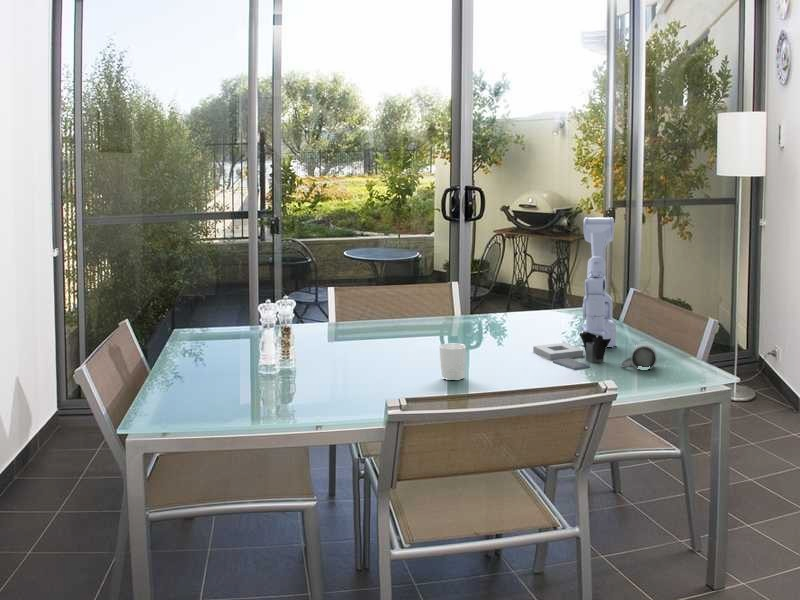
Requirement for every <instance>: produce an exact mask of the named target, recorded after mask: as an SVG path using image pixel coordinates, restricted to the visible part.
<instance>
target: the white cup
mask: <svg viewBox="0 0 800 600" xmlns="http://www.w3.org/2000/svg"><path fill="white" fill-rule="evenodd" d="M466 349H467V346H466V345H465V344H464V343H460V342H459V343H457V342H450V343H449V342H448V343H443V344H440V345H439V357H440V358H439V360H440V370H441V378H442V377H444V378H447V379H454V380H456V379H462V378H464V379H465V373H466V372H465V371H466V356H467V355H466V353H467V350H466Z"/></svg>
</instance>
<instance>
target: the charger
mask: <svg viewBox="0 0 800 600" xmlns="http://www.w3.org/2000/svg"><path fill="white" fill-rule="evenodd" d="M585 361H586V362H589V363H590V364H599V362H600V363H604V358H603V359H599V360H597V359H596V352H595V345H594V342H586V352H585Z"/></svg>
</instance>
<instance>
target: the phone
mask: <svg viewBox="0 0 800 600" xmlns="http://www.w3.org/2000/svg"><path fill="white" fill-rule="evenodd" d="M552 363H554V364H556V365H559V366H561V367H565V368H568V369H570V370H574V371H576V370H582V369H588V368H590V364H586V363H583V362H581V361H578V360H575V359H574V358H564V359H555V360H552Z"/></svg>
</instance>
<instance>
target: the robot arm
mask: <svg viewBox="0 0 800 600" xmlns="http://www.w3.org/2000/svg"><path fill="white" fill-rule="evenodd" d="M582 225H583V231H582V232H583V237H584V241H585V242H587V243H589V244H590V245H591V246H590V247H591V257H590V258H588V260H587V266H586V267H587V268H586V270H587V271H586V279H585V280H584V294H585V295H584V297H583V299H582V300H583V301H582V319H583V320H585V323H584V324H580V331H581V332H579V337H580V339H581V341H582V343H580V345H581V346H583V347H584V351H585V353H586V342H594V345H595V352H596V359H597V360H599V359H603V360H604V357H605V354H606V351H607V350H606V349H608V348H607V347H612V346H617V347H618V345H617V327H616V324H615V321H614V320H612V319H613V312H614V311H613V309H614V308H613V306H614V305H613V304H614V303H613V298H612V296H611V295H609V293H607V277H606V274H607V273H606V271H607V270H606V268H607V261H606V247H607V245H608V244H609V243H612V242H613V241H614V236H615V235H614V234H615V219H614V218H613V216H612V217H588V216H585V217H584V218H583V224H582ZM612 348H613V347H612Z"/></svg>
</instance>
